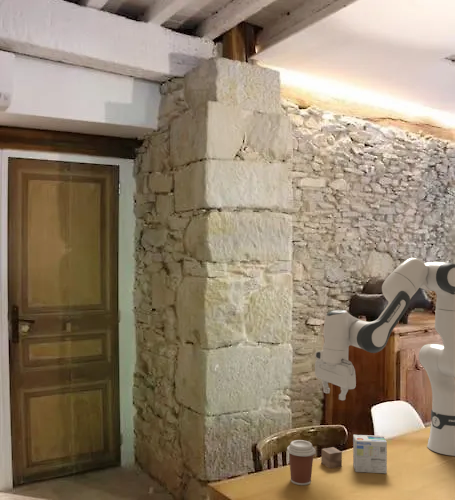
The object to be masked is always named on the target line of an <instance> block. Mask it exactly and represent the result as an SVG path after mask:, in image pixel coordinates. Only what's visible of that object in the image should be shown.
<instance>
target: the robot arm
mask: <svg viewBox="0 0 455 500" xmlns="http://www.w3.org/2000/svg"><path fill="white" fill-rule="evenodd" d="M383 281H384V282H383V283H382V285H381V292H382V294H383V297H384V298H385V300H386V301H387V305H386V307H384V310H383V311H381V313H380V315H379V316H378V318H377V319H375V320H373V321H366V320H364V319H363V320H361V319H359V318H357V317H356V316H353V315H352V314H350V312H349V311H347V310H345V309H334V310H330V311H328V312H327V313H326V315H325V317H324V321H323V322H324V323H323V339H324V340H323V341H324V342H323V345H322V349H321V350H319V351H315V352H314V357H315V361H314V375H315V377H316V378H317V379H320V380H321V384H322V388H323V393H325V394H330V392H331V388H330V386H329V383H330V384H332V385H335V386H338V387H340V393H339V394H338V400H339V401H345V400H346V399H347V398H346V396H347V393H348V392H349V390H354V389H355V388H356V387H357V385H356V384H357V378H356V377H357V375H356V369H355V367H354V365H353V363H352V361H351V360H349V350H350V349H349V347H350V346H352V347H355V348H358V349H362V350H363V351H366V352H369V353H371V354H377V353H379V352H381V351H382V350H384V348H385V347H386V346H387V343H388V341H389V339H390V335H392V332H393V331H394V329H395V328H396V326H397V324H398V323H399V322H400V321H401V319H402V317H403V316H404V315H405V313H406V312H407V310H408V308H409V307H410V303H411V299H412V297H414V295H416V293H417V292H418V290H422V291H423V290H425V291H430V292H434V293H435V294H436V303H435V315H434V329H435V331H436V333H437V334H438V335H439V337H441V340H442V344H440V343H428V344H424V345H423V346H422V347H421V348H420V350H419V353H418V361H419V364H420V365H421V366H422V368H423V369H424V371H426V372H425V373H426V374H427V377H428V379H429V383H430V388H431V395H432V396H431V397H432V398H431V399H432V400H431V401H432V403H431V406H432V407H431V408H432V409H431V411H430V421H431V422H430V430H429V438H427V439H428V440H427V449H429V450H430V451H432V452H435V453H438V454H441V455H446V456H453V457H455V263H453V262H445V261H429V262H424V261H422V260H421V259H419V258H418V257H417V258H416V257H410V258H408V259H406V260H404V261H403V262H401V263H400V264H399V265H398V266H396V268H394V270H392V272H391V273H390V274H389V275H388V276H387V277H386V278H385V279H384V280H383Z"/></svg>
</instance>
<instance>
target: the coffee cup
mask: <svg viewBox="0 0 455 500" xmlns="http://www.w3.org/2000/svg"><path fill="white" fill-rule="evenodd" d="M286 451H287V453H288V455H289V456H288V457H289V469H290V470H289V472H290V482H291V483H292V484H294V485H297V486H307V485H310V484H311V482H312V474H313V473H312V471H313V463H314V455H315V454H316V448H315V447H314V446H313V444H312V443H311V442H310V441H308V440H303V439H295V440H292V441H291V442H290V444H289V445H288V446H287V448H286Z"/></svg>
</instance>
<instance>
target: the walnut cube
mask: <svg viewBox="0 0 455 500" xmlns="http://www.w3.org/2000/svg"><path fill="white" fill-rule="evenodd" d="M342 454H343V452H342V451H341V450H339V449H337V448H336V447H335V446H332V447H327V448H326V447H325V448H321V454H320V455H321V458H320V460H321V464H322V465H323V466H325V467H327V468H328V469H334V468H339V467H342V463H343V458H342V457H343V455H342Z"/></svg>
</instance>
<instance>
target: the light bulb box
mask: <svg viewBox="0 0 455 500" xmlns="http://www.w3.org/2000/svg"><path fill="white" fill-rule="evenodd" d="M352 438H353V439H352V442H353V443H352V444H353V445H352V447H353V451H352V457H353V460H352V465H353V469H354V472H355V473H369V474H371V473H374V474H375V473H376V474H387V472H388V465H387V462H388V458H387V457H388V450H387V448H388V445H387V444H388V441H387V440H386V438H385V437H384V435H371V434H369V435H368V434H353V435H352Z"/></svg>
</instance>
